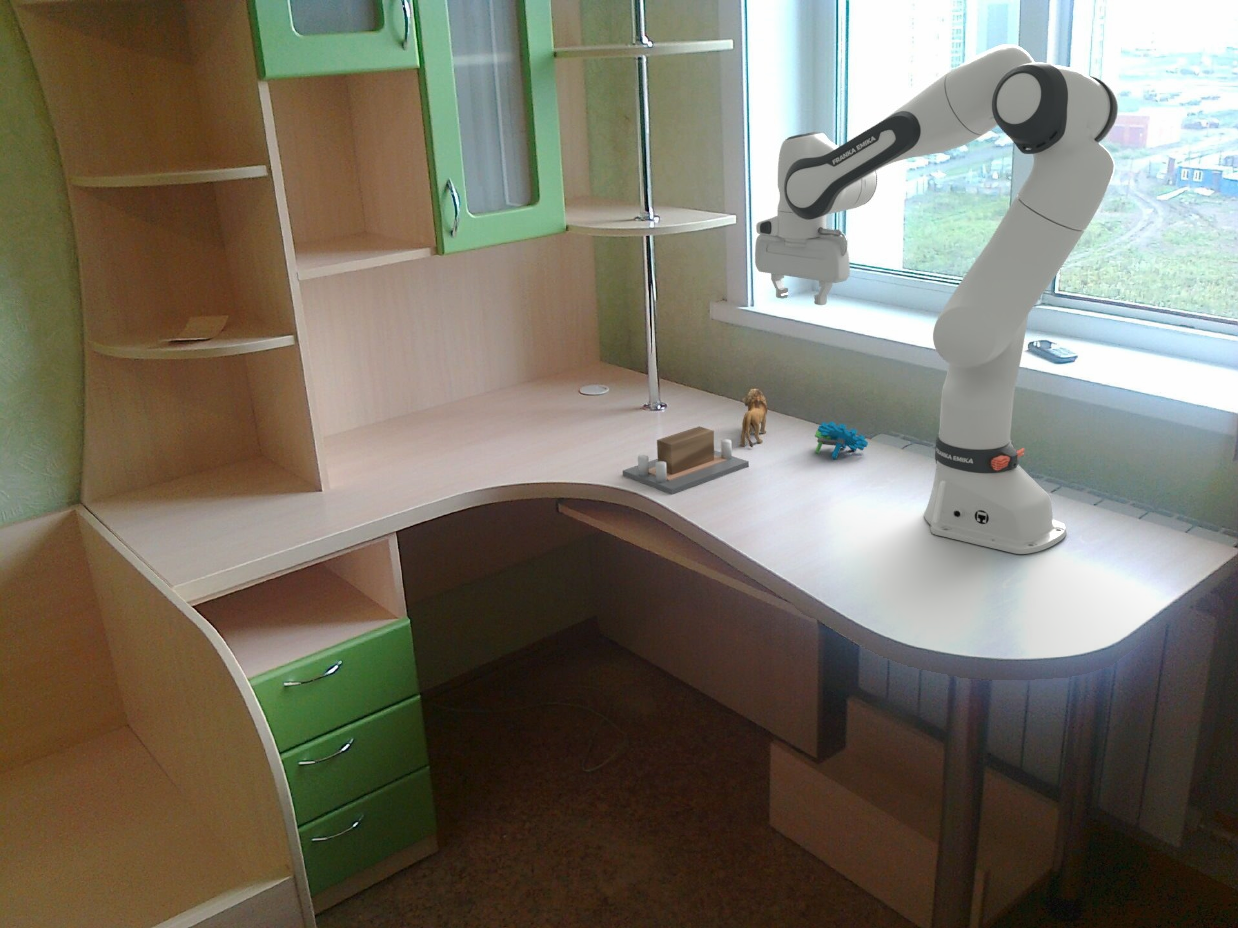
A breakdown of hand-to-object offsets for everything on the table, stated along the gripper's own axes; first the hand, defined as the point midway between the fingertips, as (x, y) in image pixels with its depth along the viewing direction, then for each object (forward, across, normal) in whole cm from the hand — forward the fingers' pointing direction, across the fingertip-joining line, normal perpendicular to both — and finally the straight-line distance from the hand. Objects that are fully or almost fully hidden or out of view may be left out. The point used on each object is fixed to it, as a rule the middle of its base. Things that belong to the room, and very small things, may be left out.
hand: (800, 301), depth 203 cm
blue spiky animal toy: (+31, -4, -7) cm, 33 cm away
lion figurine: (+31, +15, -3) cm, 35 cm away
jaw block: (+30, +11, +20) cm, 38 cm away
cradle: (+31, +11, +20) cm, 39 cm away
